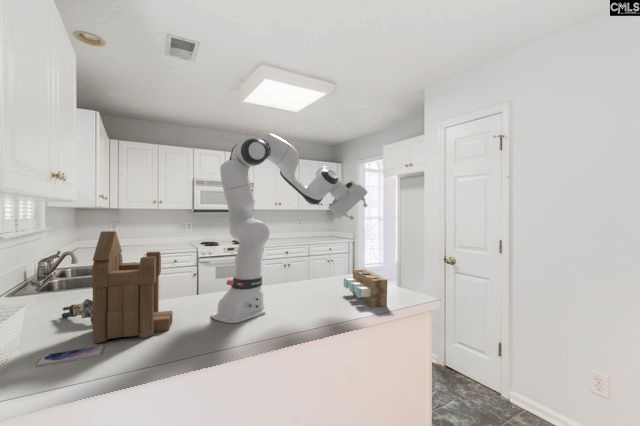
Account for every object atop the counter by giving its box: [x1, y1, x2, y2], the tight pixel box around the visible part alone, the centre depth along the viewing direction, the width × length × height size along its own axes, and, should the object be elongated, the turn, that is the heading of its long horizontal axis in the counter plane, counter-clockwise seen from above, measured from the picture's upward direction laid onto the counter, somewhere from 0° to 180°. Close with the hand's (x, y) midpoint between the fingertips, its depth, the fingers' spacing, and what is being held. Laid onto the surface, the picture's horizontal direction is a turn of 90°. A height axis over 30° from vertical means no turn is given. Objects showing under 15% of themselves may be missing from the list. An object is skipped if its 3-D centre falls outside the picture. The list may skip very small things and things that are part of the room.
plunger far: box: [343, 277, 358, 289], centre depth 154 cm, size 9×4×4 cm, turn 106°
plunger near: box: [355, 286, 371, 299], centre depth 139 cm, size 9×4×4 cm, turn 106°
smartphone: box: [34, 344, 106, 368], centre depth 88 cm, size 7×1×15 cm
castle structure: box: [91, 230, 174, 344], centre depth 111 cm, size 27×22×35 cm
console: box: [352, 268, 388, 308], centre depth 148 cm, size 7×24×13 cm, turn 16°
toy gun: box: [61, 298, 93, 327], centre depth 113 cm, size 3×21×10 cm, turn 70°
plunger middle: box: [348, 282, 364, 294], centre depth 147 cm, size 9×4×4 cm, turn 106°
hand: (359, 212), depth 152 cm, fingers open, 8 cm apart
